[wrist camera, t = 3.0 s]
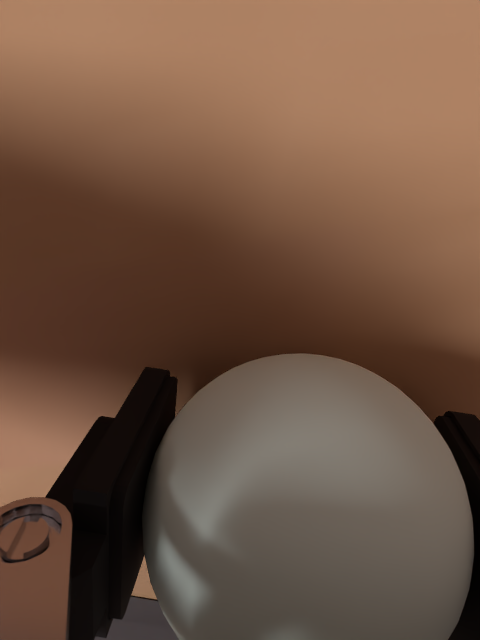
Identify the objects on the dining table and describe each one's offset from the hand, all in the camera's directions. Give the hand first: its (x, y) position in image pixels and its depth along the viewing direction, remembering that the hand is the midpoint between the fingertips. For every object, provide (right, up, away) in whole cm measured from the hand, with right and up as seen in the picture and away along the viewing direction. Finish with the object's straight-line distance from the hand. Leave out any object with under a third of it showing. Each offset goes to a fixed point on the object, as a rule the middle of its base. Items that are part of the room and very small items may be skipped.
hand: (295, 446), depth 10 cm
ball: (0, -1, -2) cm, 2 cm away
